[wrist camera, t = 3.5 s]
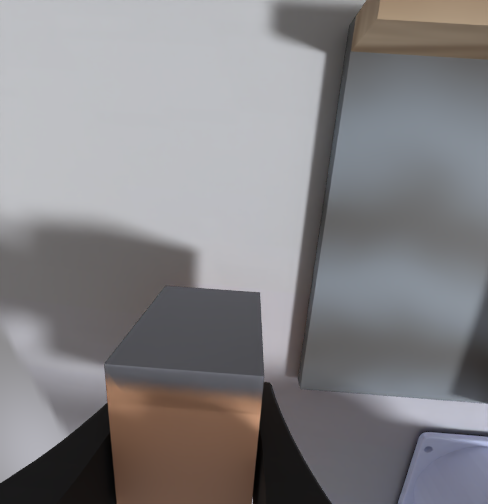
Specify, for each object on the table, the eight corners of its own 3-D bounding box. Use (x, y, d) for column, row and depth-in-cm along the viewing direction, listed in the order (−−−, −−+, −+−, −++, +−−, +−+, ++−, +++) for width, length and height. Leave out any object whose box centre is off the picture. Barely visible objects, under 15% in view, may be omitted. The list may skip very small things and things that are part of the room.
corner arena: (497, 394, 17) (555, 447, 13) (298, 379, 17) (308, 427, 14) (639, 43, 11) (787, -6, 8) (349, 25, 12) (385, -28, 8)
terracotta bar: (247, 440, 14) (243, 581, 9) (168, 433, 14) (122, 571, 9) (260, 292, 12) (264, 376, 7) (165, 285, 12) (104, 364, 7)
